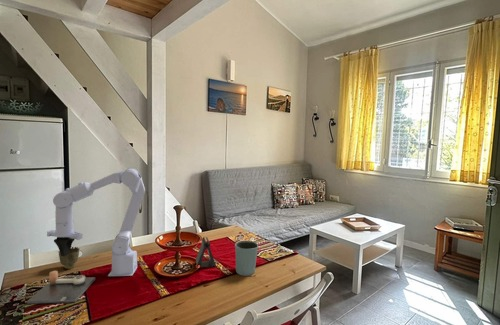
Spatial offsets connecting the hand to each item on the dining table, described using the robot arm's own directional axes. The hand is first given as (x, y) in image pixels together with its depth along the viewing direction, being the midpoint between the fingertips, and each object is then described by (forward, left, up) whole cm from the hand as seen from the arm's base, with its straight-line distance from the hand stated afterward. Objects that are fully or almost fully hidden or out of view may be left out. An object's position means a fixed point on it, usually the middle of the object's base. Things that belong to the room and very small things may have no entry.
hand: (64, 255), depth 105 cm
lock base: (-4, +10, -9) cm, 14 cm away
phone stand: (-55, -9, -10) cm, 57 cm away
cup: (+3, -9, -10) cm, 14 cm away
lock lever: (-4, +6, -8) cm, 11 cm away
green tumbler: (-73, -2, -10) cm, 74 cm away
